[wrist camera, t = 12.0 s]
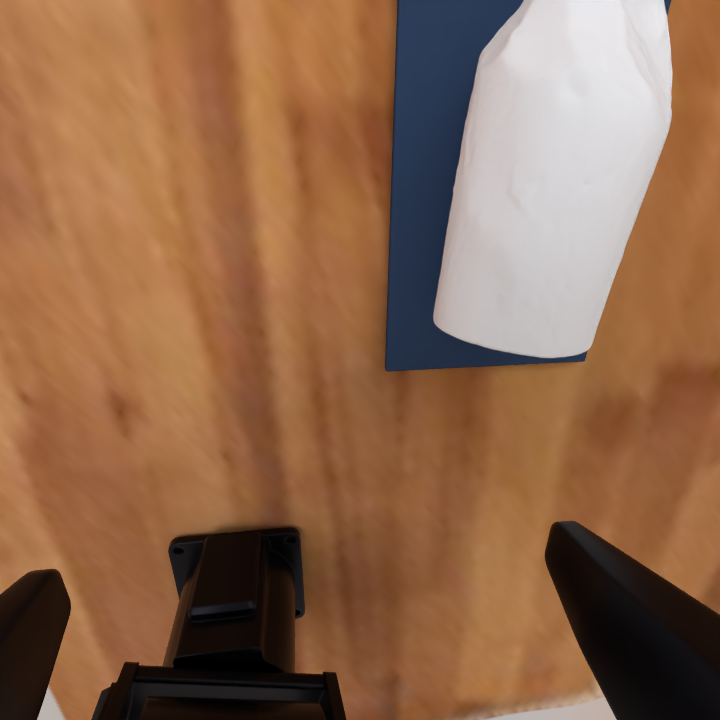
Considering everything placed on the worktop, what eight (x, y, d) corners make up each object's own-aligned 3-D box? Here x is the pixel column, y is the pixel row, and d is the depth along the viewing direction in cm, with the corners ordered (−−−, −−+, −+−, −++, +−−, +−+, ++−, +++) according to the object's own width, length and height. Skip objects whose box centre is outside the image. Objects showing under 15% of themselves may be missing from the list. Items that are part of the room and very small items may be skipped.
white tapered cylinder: (643, -35, 15) (821, -130, 10) (547, 311, 20) (633, 365, 15) (472, -68, 14) (571, -193, 9) (415, 303, 19) (458, 358, 14)
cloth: (581, 358, 21) (585, 361, 21) (385, 368, 20) (386, 371, 20) (705, -172, 14) (713, -178, 14) (404, -203, 13) (406, -211, 12)
